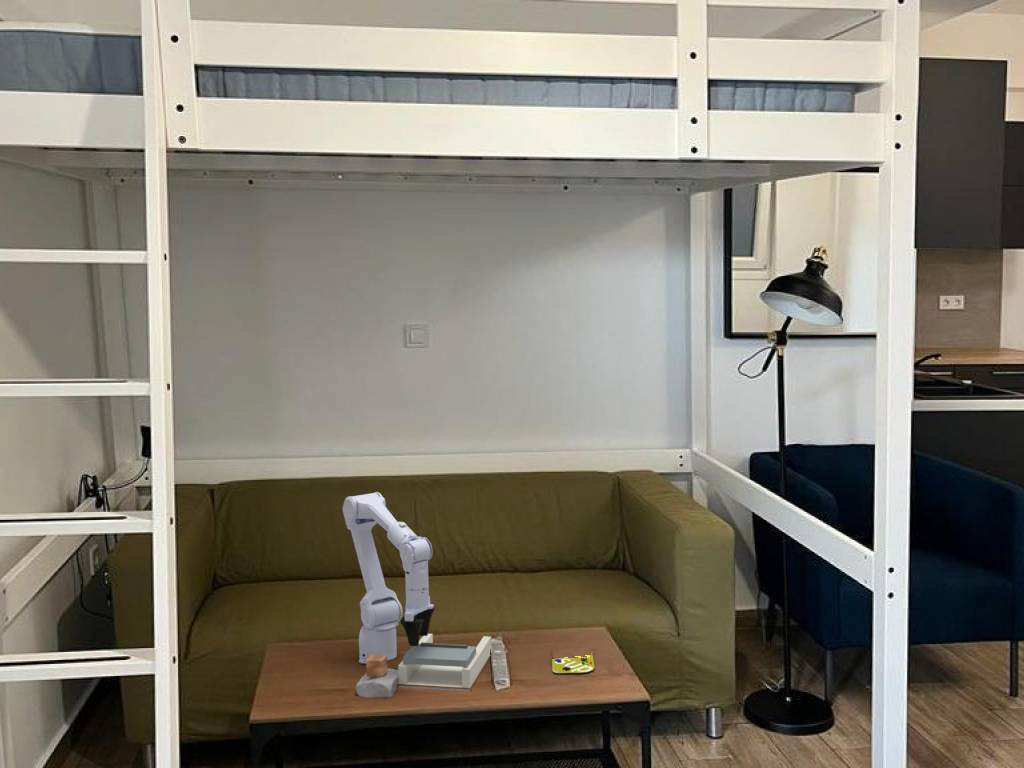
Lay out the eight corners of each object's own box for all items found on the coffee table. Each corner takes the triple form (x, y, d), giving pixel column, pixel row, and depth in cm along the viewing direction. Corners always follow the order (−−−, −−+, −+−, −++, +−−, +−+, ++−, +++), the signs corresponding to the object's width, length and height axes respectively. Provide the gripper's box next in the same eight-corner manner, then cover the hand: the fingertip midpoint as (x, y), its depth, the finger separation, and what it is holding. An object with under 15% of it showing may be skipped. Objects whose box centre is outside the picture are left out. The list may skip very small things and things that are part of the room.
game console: (550, 652, 271) (550, 647, 271) (591, 651, 271) (591, 646, 271) (552, 677, 253) (552, 671, 253) (597, 676, 253) (596, 670, 253)
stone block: (355, 705, 242) (394, 698, 240) (350, 686, 241) (390, 679, 240) (369, 688, 253) (406, 681, 252) (365, 669, 253) (402, 663, 252)
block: (366, 676, 245) (366, 660, 245) (371, 670, 249) (371, 654, 249) (382, 677, 244) (382, 661, 244) (387, 671, 248) (386, 655, 248)
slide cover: (403, 663, 247) (403, 654, 247) (415, 649, 257) (414, 641, 257) (466, 667, 244) (466, 658, 244) (476, 652, 254) (475, 644, 253)
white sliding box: (398, 687, 247) (398, 665, 246) (425, 653, 270) (425, 633, 270) (470, 691, 243) (469, 669, 243) (491, 656, 267) (491, 636, 266)
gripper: (423, 596, 243) (425, 651, 245) (440, 580, 258) (442, 631, 259) (395, 595, 245) (397, 649, 246) (414, 578, 259) (415, 630, 260)
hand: (418, 640), depth 253 cm, fingers open, 7 cm apart
